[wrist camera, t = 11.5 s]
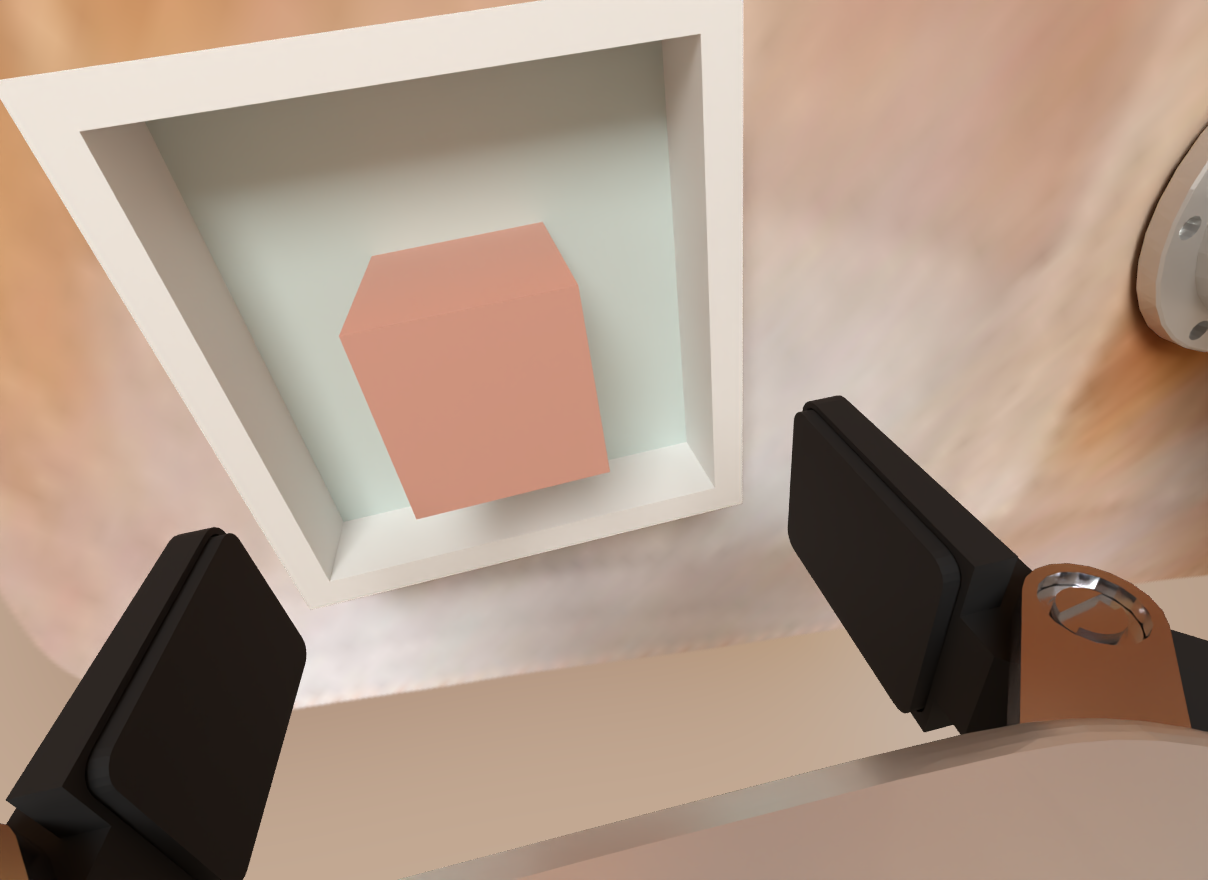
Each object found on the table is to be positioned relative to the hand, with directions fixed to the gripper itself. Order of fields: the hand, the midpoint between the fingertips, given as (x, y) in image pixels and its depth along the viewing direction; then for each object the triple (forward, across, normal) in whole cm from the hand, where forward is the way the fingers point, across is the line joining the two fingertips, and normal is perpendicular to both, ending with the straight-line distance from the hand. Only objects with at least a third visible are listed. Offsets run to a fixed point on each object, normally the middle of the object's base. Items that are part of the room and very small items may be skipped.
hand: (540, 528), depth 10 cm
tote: (+11, +1, 0) cm, 11 cm away
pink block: (+10, +1, 0) cm, 10 cm away
